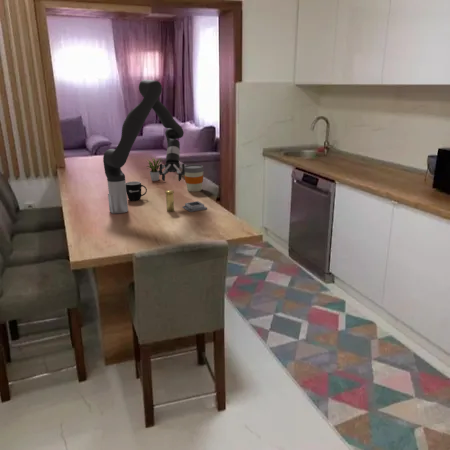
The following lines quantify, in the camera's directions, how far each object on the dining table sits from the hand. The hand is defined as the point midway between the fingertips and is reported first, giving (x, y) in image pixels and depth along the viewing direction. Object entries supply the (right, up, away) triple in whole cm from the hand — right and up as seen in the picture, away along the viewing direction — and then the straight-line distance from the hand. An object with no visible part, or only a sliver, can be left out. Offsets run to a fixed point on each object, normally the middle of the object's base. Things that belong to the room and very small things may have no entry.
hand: (171, 180), depth 240 cm
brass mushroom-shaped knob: (0, -17, -5) cm, 18 cm away
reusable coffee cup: (+10, -2, +38) cm, 39 cm away
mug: (-23, -10, +18) cm, 30 cm away
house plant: (-18, +7, +66) cm, 69 cm away
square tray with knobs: (+13, -15, -2) cm, 20 cm away
